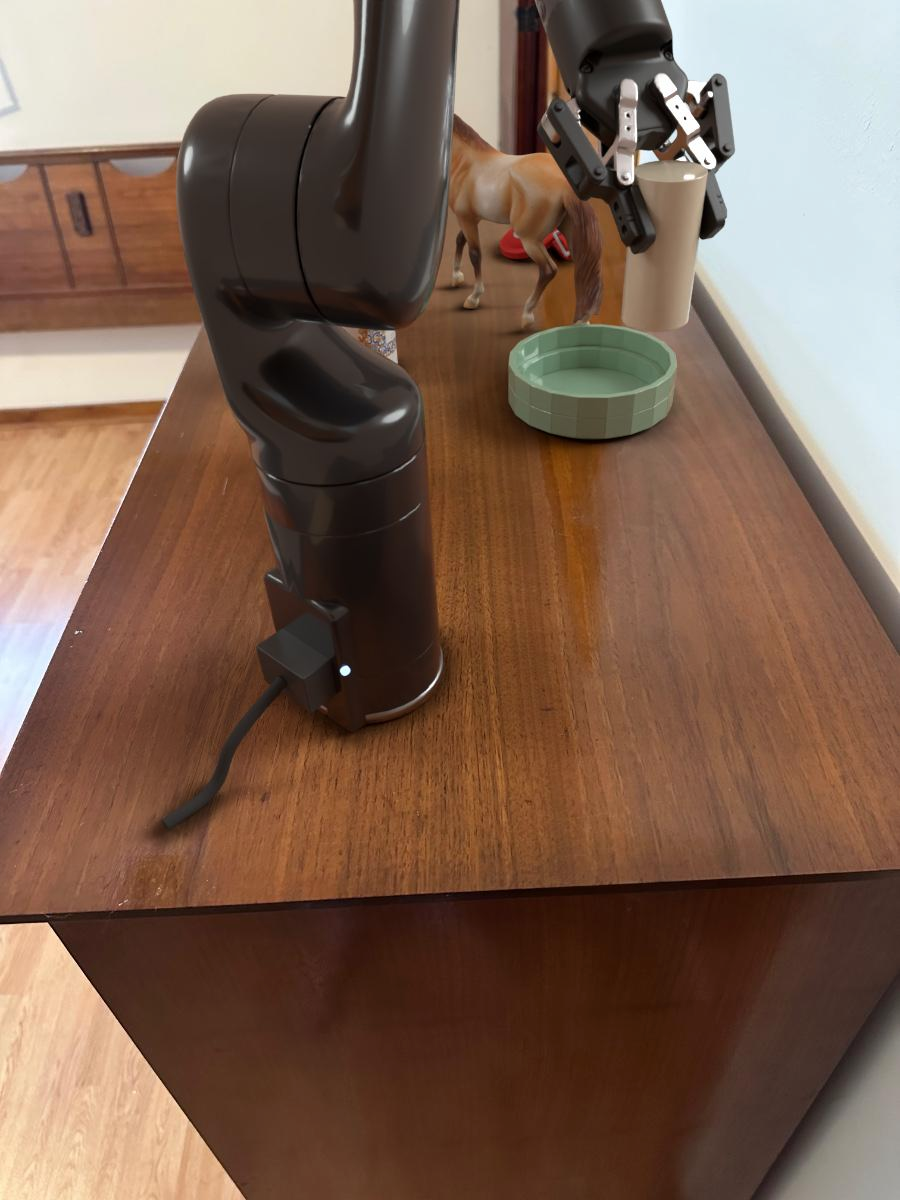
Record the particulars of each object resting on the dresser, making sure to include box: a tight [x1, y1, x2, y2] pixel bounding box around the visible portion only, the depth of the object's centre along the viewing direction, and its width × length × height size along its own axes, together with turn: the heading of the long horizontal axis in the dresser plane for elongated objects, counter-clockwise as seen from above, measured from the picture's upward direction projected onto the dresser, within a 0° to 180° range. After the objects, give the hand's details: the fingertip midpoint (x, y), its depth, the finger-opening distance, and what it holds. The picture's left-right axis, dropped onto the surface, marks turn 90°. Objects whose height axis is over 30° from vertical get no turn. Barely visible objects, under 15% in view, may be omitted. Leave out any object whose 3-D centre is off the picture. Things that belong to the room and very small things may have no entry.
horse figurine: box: [448, 112, 604, 331], centre depth 94 cm, size 31×8×21 cm, turn 39°
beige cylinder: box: [620, 160, 708, 333], centre depth 61 cm, size 5×5×10 cm
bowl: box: [507, 323, 678, 440], centre depth 83 cm, size 15×15×4 cm
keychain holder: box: [499, 227, 572, 261], centre depth 114 cm, size 12×4×10 cm
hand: (679, 239), depth 59 cm, fingers closed on beige cylinder, 4 cm apart
